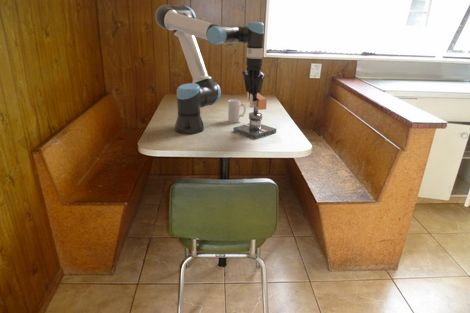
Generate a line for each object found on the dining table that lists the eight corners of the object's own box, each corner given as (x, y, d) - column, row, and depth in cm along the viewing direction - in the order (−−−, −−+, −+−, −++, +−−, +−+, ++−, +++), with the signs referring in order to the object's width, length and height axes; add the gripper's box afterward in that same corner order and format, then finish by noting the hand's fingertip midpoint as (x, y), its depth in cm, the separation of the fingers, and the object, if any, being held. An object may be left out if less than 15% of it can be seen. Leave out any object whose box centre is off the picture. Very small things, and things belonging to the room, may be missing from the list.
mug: (227, 122, 193) (227, 101, 188) (228, 119, 199) (228, 99, 195) (245, 123, 193) (245, 102, 188) (245, 119, 199) (246, 99, 194)
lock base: (233, 131, 179) (233, 118, 176) (254, 125, 189) (254, 113, 187) (255, 139, 168) (256, 125, 166) (276, 132, 179) (277, 119, 176)
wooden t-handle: (254, 124, 166) (256, 99, 162) (244, 113, 184) (244, 90, 179) (267, 123, 168) (269, 99, 163) (256, 113, 186) (257, 90, 181)
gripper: (238, 56, 160) (237, 105, 169) (259, 59, 151) (256, 110, 161) (249, 55, 165) (248, 103, 174) (270, 58, 156) (267, 108, 165)
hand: (252, 106), depth 167 cm, fingers closed
